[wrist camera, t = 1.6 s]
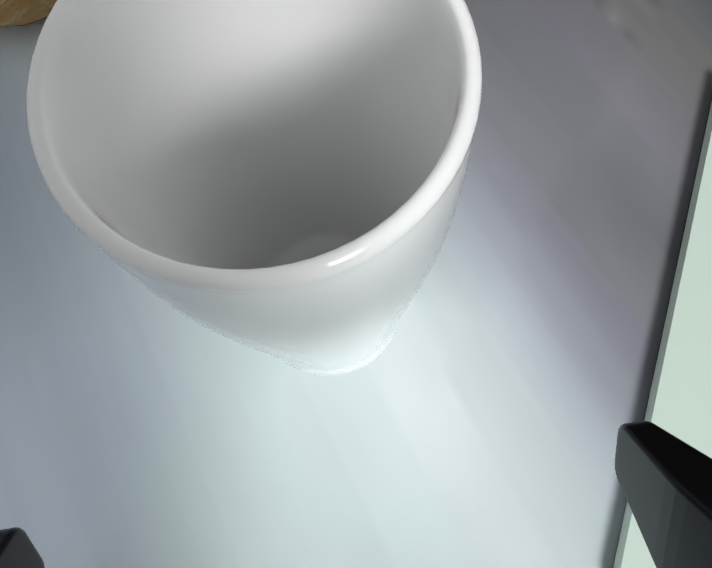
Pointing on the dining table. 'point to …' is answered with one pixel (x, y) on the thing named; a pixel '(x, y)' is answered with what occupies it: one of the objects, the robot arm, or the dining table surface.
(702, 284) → the pad
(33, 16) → the bread roll
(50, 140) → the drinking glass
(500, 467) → the dining table surface
